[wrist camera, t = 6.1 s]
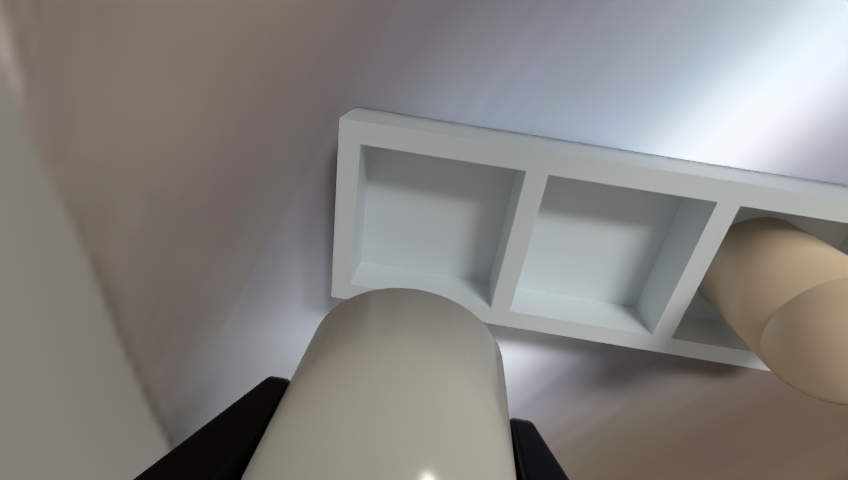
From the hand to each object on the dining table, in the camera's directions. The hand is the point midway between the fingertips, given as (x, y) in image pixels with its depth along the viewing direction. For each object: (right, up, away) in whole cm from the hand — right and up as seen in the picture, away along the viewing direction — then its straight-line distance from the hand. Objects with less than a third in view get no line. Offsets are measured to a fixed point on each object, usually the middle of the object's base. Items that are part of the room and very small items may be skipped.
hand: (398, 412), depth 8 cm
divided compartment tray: (+8, +4, +10) cm, 13 cm away
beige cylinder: (+14, +2, +9) cm, 17 cm away
